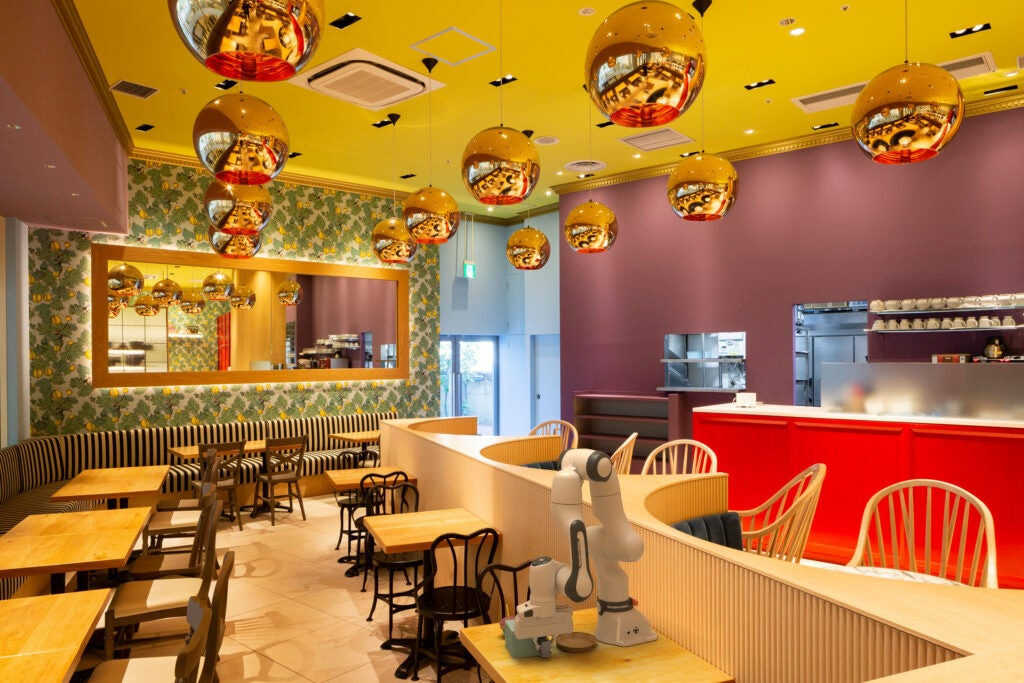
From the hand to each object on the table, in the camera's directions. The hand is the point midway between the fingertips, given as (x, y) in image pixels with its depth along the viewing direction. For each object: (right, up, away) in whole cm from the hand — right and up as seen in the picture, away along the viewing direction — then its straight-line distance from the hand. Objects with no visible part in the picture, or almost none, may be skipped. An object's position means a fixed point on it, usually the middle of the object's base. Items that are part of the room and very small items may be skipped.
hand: (544, 648), depth 226 cm
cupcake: (-11, -5, +19) cm, 22 cm away
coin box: (-6, -4, +7) cm, 10 cm away
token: (0, -2, 0) cm, 2 cm away
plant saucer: (+12, -4, +10) cm, 16 cm away
